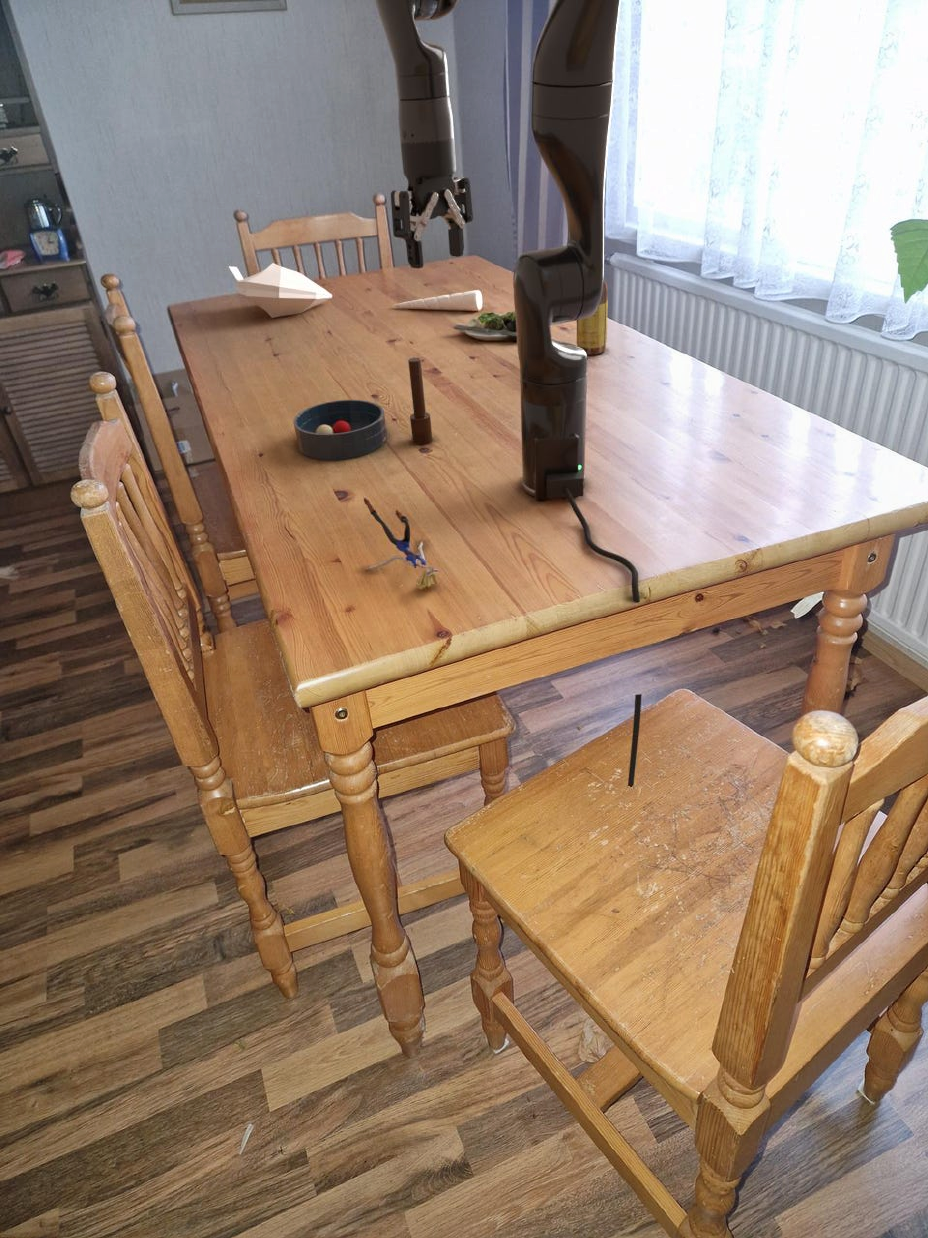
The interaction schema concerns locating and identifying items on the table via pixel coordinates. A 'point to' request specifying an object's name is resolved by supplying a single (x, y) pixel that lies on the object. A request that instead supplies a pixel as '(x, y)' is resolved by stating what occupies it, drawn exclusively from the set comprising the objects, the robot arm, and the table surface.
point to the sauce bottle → (594, 328)
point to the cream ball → (324, 430)
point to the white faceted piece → (280, 290)
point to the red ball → (341, 427)
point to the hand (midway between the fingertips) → (437, 261)
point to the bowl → (358, 442)
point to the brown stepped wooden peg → (419, 406)
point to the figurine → (405, 550)
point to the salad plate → (491, 327)
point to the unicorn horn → (447, 302)
